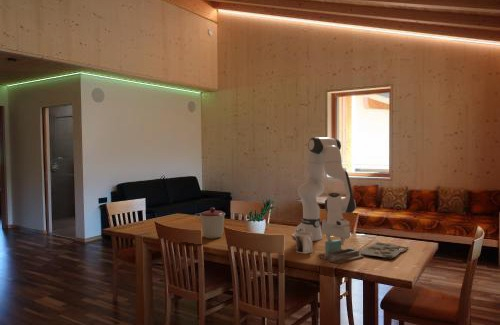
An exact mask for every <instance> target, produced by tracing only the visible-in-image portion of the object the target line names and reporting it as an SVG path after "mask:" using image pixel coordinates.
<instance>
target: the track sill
mask: <svg viewBox="0 0 500 325" xmlns="http://www.w3.org/2000/svg"><path fill="white" fill-rule="evenodd" d="M359 251H360V250H358V249H356V248H352V247H346V248H341V250H337V251H333V252H328V253H325V252H324V255H320V259H322V260H325V261H327V260H328V261H327V262H330V261H331V263H333V262H334V264H337V265H343V264H345V263H349V262H353V261H357V260H361V259H364V258H365V256H364V255H361V254H360V253H359Z"/></svg>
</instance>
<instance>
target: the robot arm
mask: <svg viewBox="0 0 500 325" xmlns="http://www.w3.org/2000/svg"><path fill="white" fill-rule="evenodd" d="M307 148H308V150H309V152H308V155H307V160H306V164H305V166H306V167H305V174H306V176H307V177H306V178H307V181H306V182H304V183H301V184H300V185H299V186H298V187H297V191H296V192H297V195H298V197H299V198H300V200H301V204H302V217H300V221H301V222H300V223H299V224H298V225H297V226H296V227H295V228H294V233H292V234H291V237H293V238H294V239H296V233H297V232H311V233H312V242H313V241H320V240H322V239H323V235H325V236H326V239H327V241H332V240H333V239H332V238H331V237H336V238H340V240H341V242H340V245H341V246H344V242H345V240H347V239H349V238H351V227H350V221H349V220H348V219H346V218H345V217H343V214H352V213H353V212H355V210H356V208H357V203H356V199H355V198H354V193H353V189H352V184H351V181H350V180H351V179H350V176H349V173H348V172H347V170H345V168H344V167H343V164H342V163H343V162H342V161H343V160H342V155H341V154H342V153H341V149H342V143H341V141H340V139H338V138H335V137H327V136H322V137H321V136H314V137H311V138H309V141H308V144H307ZM323 170H324V172H325V174H326V175H327V176H329V177H330V178H333V179H336V180H339V181H340V182H341V183H343V186H344V191H345V196H342V195H341V194H340V193H338V192H331V193H327V198H326V199H325V200H324V210H325V211H326V212H327V214H326V215H327V216H326V217H327V219H326V218H323V220H322V221H321V218H320V205H319V203H318V201H317V197H319V196H321V195H322V194H323V193H324V191H325V185H324V183H323ZM321 223H322V224H321Z"/></svg>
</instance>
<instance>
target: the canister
mask: <svg viewBox="0 0 500 325" xmlns="http://www.w3.org/2000/svg"><path fill="white" fill-rule="evenodd" d="M225 215H226V213H225V212H224V211H222V210H216V208H215V207H210V208H209V210H206V211H203V212H201V213H200V214H199V216H200V222H201V230H202V235H203V237H204V238H206V239H210V240H211V239H219V238H221V237H222V236H223V234H224V225H225V224H224V223H225Z"/></svg>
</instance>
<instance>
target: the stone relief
mask: <svg viewBox="0 0 500 325" xmlns="http://www.w3.org/2000/svg"><path fill="white" fill-rule="evenodd" d="M403 248H404V249H403ZM409 248H410V247H409V246H400V245H397V244H394V243H386V242H380V241H376V242H375V243H374V244H372V245H369V246H366V247H365V248H363V249H361V250H359V255H361V256H364V255H366V256H375V257H381V258H382V259H385V260H392V259H393V258H396V257H398V255H399V254H400V253H402V252H404V251H407V250H408V249H409ZM399 249H400V250H399Z"/></svg>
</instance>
